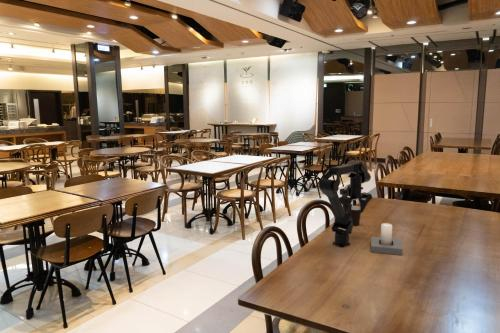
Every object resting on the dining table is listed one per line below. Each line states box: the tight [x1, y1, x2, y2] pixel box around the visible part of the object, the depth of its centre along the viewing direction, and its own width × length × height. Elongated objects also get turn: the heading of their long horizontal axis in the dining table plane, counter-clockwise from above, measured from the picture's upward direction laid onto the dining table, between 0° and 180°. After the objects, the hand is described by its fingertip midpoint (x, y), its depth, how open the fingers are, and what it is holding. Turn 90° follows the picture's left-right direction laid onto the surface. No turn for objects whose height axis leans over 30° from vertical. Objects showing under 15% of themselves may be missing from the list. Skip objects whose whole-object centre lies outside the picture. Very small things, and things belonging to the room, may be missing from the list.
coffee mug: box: [350, 205, 362, 227], centre depth 222 cm, size 12×9×10 cm
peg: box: [380, 222, 393, 245], centre depth 183 cm, size 5×5×12 cm
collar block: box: [370, 236, 403, 256], centre depth 184 cm, size 14×14×3 cm
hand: (355, 214), depth 197 cm, fingers open, 9 cm apart
